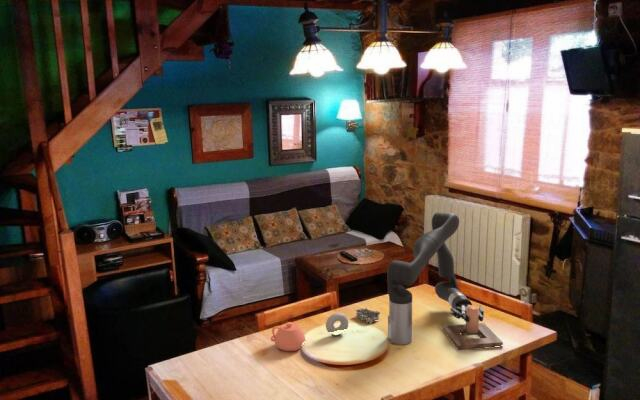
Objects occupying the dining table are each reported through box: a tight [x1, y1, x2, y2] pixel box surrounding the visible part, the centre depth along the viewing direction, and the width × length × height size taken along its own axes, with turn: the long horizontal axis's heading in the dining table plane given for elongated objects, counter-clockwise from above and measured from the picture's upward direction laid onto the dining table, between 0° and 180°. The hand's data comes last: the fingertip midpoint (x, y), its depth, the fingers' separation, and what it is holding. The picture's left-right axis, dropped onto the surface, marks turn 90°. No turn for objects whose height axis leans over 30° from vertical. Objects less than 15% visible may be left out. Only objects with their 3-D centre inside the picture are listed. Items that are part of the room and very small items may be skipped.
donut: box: [325, 312, 349, 333], centre depth 219 cm, size 10×4×10 cm, turn 109°
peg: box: [465, 304, 480, 334], centre depth 213 cm, size 5×5×10 cm
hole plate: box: [442, 322, 504, 351], centre depth 214 cm, size 18×18×2 cm
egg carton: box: [354, 307, 381, 324], centre depth 236 cm, size 11×8×4 cm
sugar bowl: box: [270, 321, 306, 352], centre depth 210 cm, size 12×14×10 cm
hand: (475, 319), depth 210 cm, fingers closed on peg, 5 cm apart
